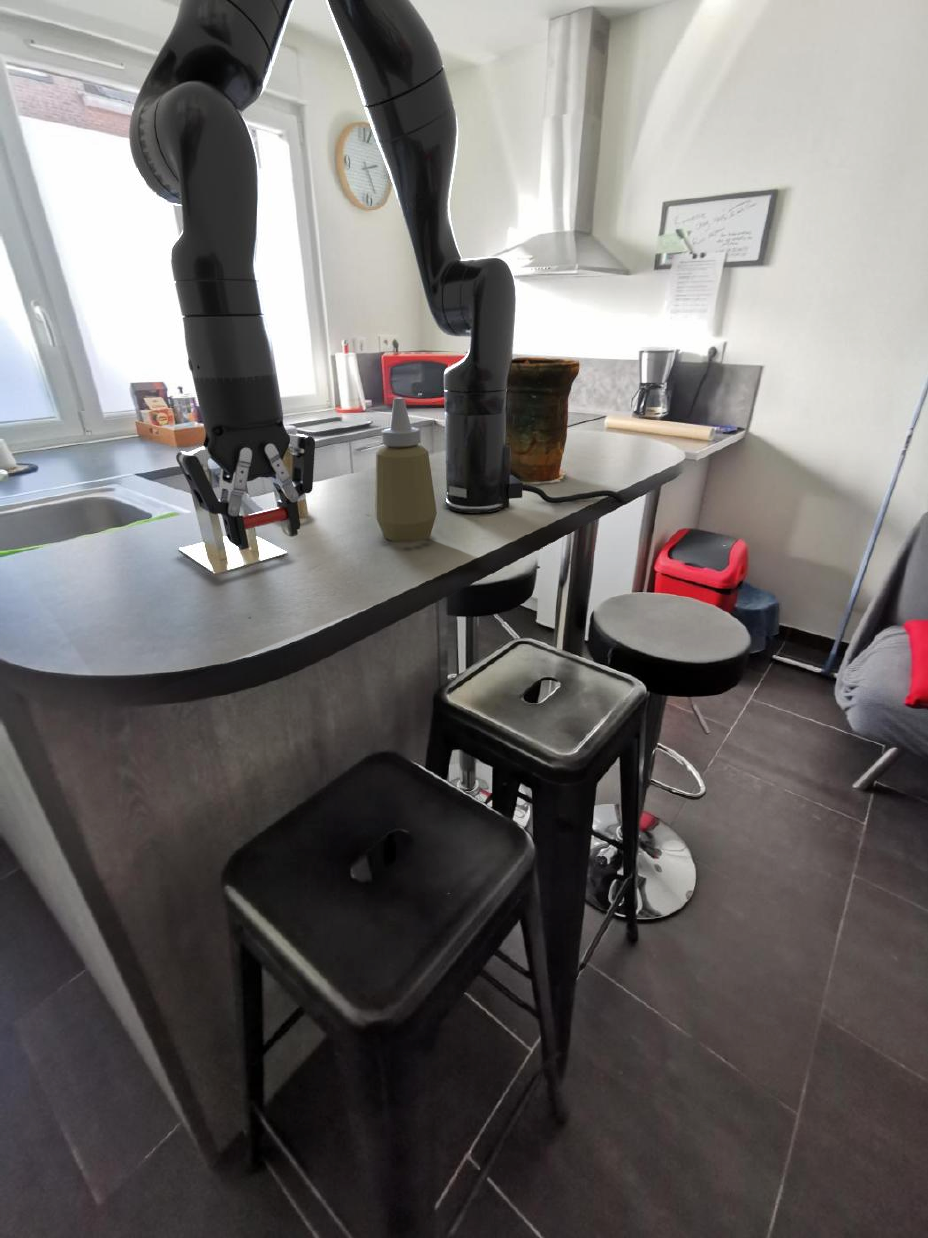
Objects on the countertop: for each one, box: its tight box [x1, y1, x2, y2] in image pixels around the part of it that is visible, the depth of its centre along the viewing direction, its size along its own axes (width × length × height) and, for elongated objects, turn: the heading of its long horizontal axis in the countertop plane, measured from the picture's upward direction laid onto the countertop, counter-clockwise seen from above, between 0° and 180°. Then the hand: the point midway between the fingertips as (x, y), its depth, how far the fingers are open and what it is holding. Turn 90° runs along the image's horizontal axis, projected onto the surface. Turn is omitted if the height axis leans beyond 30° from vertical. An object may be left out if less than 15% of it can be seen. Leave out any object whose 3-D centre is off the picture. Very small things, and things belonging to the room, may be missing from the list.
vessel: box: [506, 356, 580, 485], centre depth 101 cm, size 14×14×20 cm
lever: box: [208, 458, 287, 530], centre depth 63 cm, size 13×5×2 cm, turn 44°
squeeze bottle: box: [374, 397, 438, 543], centre depth 72 cm, size 8×8×18 cm
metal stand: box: [178, 471, 288, 576], centre depth 67 cm, size 11×9×13 cm
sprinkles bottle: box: [272, 424, 309, 518], centre depth 81 cm, size 5×5×13 cm
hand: (267, 540), depth 61 cm, fingers closed on lever, 5 cm apart
